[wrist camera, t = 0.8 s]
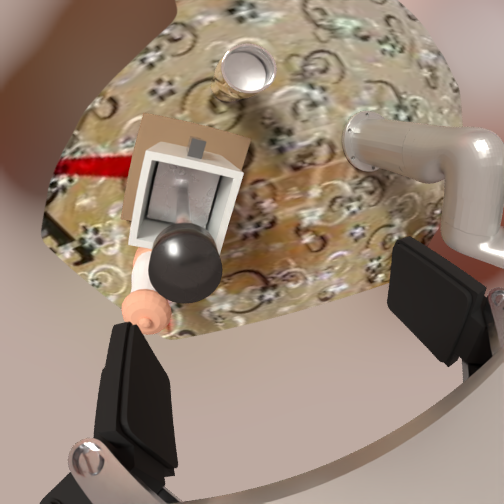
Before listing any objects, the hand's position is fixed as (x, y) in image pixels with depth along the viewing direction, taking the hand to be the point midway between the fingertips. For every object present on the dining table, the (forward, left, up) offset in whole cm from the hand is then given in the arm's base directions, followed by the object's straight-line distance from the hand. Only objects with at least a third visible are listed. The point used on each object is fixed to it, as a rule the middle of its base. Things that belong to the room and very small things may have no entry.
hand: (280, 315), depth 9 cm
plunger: (+2, +3, -27) cm, 28 cm away
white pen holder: (+2, +3, -41) cm, 41 cm away
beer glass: (-1, -14, -41) cm, 43 cm away
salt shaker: (+4, +19, -41) cm, 45 cm away
